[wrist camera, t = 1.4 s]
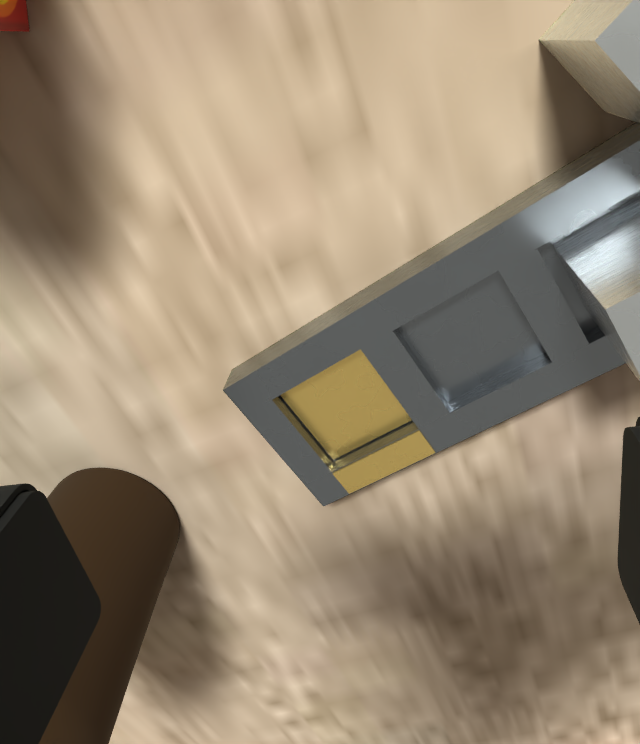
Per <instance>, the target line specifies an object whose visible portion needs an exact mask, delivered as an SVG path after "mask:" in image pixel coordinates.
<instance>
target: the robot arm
mask: <svg viewBox="0 0 640 744" xmlns="http://www.w3.org/2000/svg"><path fill="white" fill-rule="evenodd" d="M618 569H619V574H620V578H621V582H622V585H623V587H624V590H625V592H626V594H627V596H628V599H629V601H630V603H631V605H632V608H633V610H634V612H635V614H636V617H637V619H638V621H639V623H640V417H638V419H637V422H636V426H635V427H627V428H625V430H624V435H623V454H622V476H621V498H620V520H619V543H618ZM100 613H101V602H100V599H99V596H98V594H97V592H96V591H95V589H94V587H93V585H92V583H91V581H90V579H89V577H88V575H87V574H86V572H85V570H84V568H83V566H82V564H81V562H80V560H79V558H78V557H77V555H76V553H75V551H74V549H73V547H72V545H71V543H70V541H69V540H68V538H67V536H66V534H65V532H64V530H63V528H62V526H61V524H60V523H59V521H58V519H57V517H56V515H55V513H54V511H53V509H52V507H51V506H50V504H49V502H48V500H47V498H46V496H45V495H44V494H43V493H42V492H40V491H37V490H36V488H35V487H33V486H32V485H30V484H16V485H7V486H0V744H39V742H40V740H41V738H42V736H43V734H44V732H45V730H46V728H47V726H48V724H49V721H50V719H51V717H52V715H53V713H54V711H55V709H56V707H57V705H58V703H59V701H60V699H61V697H62V695H63V693H64V691H65V689H66V687H67V684H68V682H69V680H70V678H71V676H72V674H73V672H74V670H75V668H76V666H77V664H78V662H79V660H80V658H81V656H82V654H83V652H84V650H85V647H86V645H87V643H88V641H89V639H90V637H91V635H92V633H93V631H94V629H95V627H96V625H97V623H98V620H99V618H100Z"/></svg>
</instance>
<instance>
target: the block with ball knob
mask: <svg viewBox="0 0 640 744" xmlns="http://www.w3.org/2000/svg"><path fill="white" fill-rule="evenodd" d="M539 41H540V42H541V43H542V44H543V45H544V46H545V47H546V48H547V49H548V50H549V51H550V53H551V54H552V55H553V56H554V57H555V58H556V59H557V60H558V61H559V62H560V64H561V65H562V66H563V67H564V68H565V69H566V70H567V71H568V72H569V73H570V74H571V76H572V77H573V78H574V79H575V80H576V81H577V82H578V83H579V84H580V85H581V86H582V88H583V89H584V90H585V91H586V92H587V93H588V94H589V95H590V96H591V97H592V99H593V100H594V101H595V102H596V103H597V104H598V105H599V106H600V107H601V108H602V109H603V111H604V112H607V113H610V114H613V115H616V116H619V117H622V118H625V119H628V120H631V121H634V122H637V123H640V0H574V1H573V2H572V3H571V5H570V6H569V7H568V8H567V9H566V10H565V11H564V12H563V13H562V14H561V16H560V17H559V18H558V19H557V20H556V21H555V22H554V23H553V24H552V26H551V27H550V28H549V29H548V30H547V31H546V32H545V33H544V34H543V35H542V37H541V38H540V39H539Z"/></svg>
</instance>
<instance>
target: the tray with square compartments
mask: <svg viewBox="0 0 640 744" xmlns="http://www.w3.org/2000/svg"><path fill="white" fill-rule="evenodd" d="M638 196H640V123H635V124H633V125H632V126H630V127H629V128H627V129H625V130H624V131H622V132H620V133H619V134H617V135H615V136H614V137H612V138H611V139H609V140H607V141H606V142H604V143H602V144H601V145H599V146H597V147H596V148H594V149H593V150H591V151H589V152H588V153H586V154H584V155H583V156H581V157H579V158H578V159H576V160H575V161H573V162H571V163H570V164H568V165H566V166H565V167H563V168H561V169H560V170H558V171H557V172H555V173H553V174H552V175H550V176H548V177H547V178H545V179H543V180H542V181H540V182H539V183H537V184H535V185H534V186H532V187H530V188H529V189H527V190H525V191H524V192H522V193H521V194H519V195H517V196H516V197H514V198H512V199H511V200H509V201H507V202H506V203H504V204H503V205H501V206H499V207H498V208H496V209H494V210H493V211H491V212H489V213H488V214H486V215H485V216H483V217H481V218H480V219H478V220H476V221H475V222H473V223H471V224H470V225H468V226H467V227H465V228H463V229H462V230H460V231H458V232H457V233H455V234H453V235H452V236H450V237H449V238H447V239H445V240H444V241H442V242H440V243H439V244H437V245H435V246H434V247H432V248H431V249H429V250H427V251H426V252H424V253H422V254H421V255H419V256H417V257H416V258H414V259H413V260H411V261H409V262H408V263H406V264H404V265H403V266H401V267H399V268H398V269H396V270H395V271H393V272H391V273H390V274H388V275H386V276H385V277H383V278H381V279H380V280H378V281H377V282H375V283H373V284H372V285H370V286H368V287H367V288H365V289H363V290H362V291H360V292H359V293H357V294H355V295H354V296H352V297H350V298H349V299H347V300H345V301H344V302H342V303H341V304H339V305H337V306H336V307H334V308H332V309H331V310H329V311H327V312H326V313H324V314H323V315H321V316H319V317H318V318H316V319H314V320H313V321H311V322H309V323H308V324H306V325H305V326H303V327H301V328H300V329H298V330H296V331H295V332H293V333H291V334H290V335H288V336H287V337H285V338H283V339H282V340H280V341H278V342H277V343H275V344H273V345H272V346H270V347H269V348H267V349H265V350H264V351H262V352H260V353H259V354H257V355H255V356H254V357H252V358H251V359H249V360H247V361H246V362H244V363H242V364H241V365H239V366H237V367H236V368H234V369H233V370H232V371H231V373H230V376H229V378H228V380H227V382H226V384H225V387H224V389H223V391H224V392H225V393H226V394H227V396H228V397H229V398H230V399H231V400H232V401H233V402H234V404H235V405H236V406H237V407H238V408H239V409H240V411H241V412H242V413H243V414H244V415H245V416H246V417H247V419H248V420H249V421H250V422H251V423H252V424H253V426H254V427H255V428H256V429H257V430H258V431H259V433H260V434H261V435H262V436H263V437H264V438H265V439H266V441H267V442H268V443H269V444H270V445H271V446H272V448H273V449H274V450H275V451H276V452H277V453H278V454H279V456H280V457H281V458H282V459H283V460H284V461H285V463H286V464H287V465H288V466H289V467H290V468H291V469H292V471H293V472H294V473H295V474H296V475H297V476H298V478H299V479H300V480H301V481H302V482H303V483H304V485H305V486H306V487H307V488H308V489H309V490H310V491H311V493H312V494H313V495H314V496H315V497H316V498H317V500H318V501H319V502H320V503H321V504H322V505H323V506H326V505H328V504H330V503H332V502H334V501H336V500H338V499H340V498H343V497H345V496H347V495H349V494H351V493H353V492H355V491H357V490H359V489H361V488H364V487H366V486H368V485H370V484H372V483H374V482H376V481H378V480H380V479H383V478H385V477H387V476H389V475H391V474H393V473H395V472H397V471H399V470H402V469H404V468H406V467H408V466H410V465H412V464H414V463H416V462H418V461H420V460H423V459H425V458H427V457H429V456H431V455H433V454H435V453H437V452H439V451H442V450H444V449H446V448H448V447H450V446H452V445H454V444H456V443H458V442H460V441H463V440H465V439H467V438H469V437H471V436H473V435H475V434H477V433H479V432H482V431H484V430H486V429H488V428H490V427H492V426H494V425H496V424H498V423H501V422H503V421H505V420H507V419H509V418H511V417H513V416H515V415H517V414H519V413H522V412H524V411H526V410H528V409H530V408H532V407H534V406H536V405H538V404H541V403H543V402H545V401H547V400H549V399H551V398H553V397H555V396H557V395H559V394H562V393H564V392H566V391H568V390H570V389H572V388H574V387H576V386H578V385H581V384H583V383H585V382H587V381H589V380H591V379H593V378H595V377H597V376H600V375H602V374H604V373H606V372H608V371H610V370H612V369H614V368H616V367H618V366H621V365H623V364H625V361H624V360H623V359H622V357H621V356H620V355H619V353H618V352H617V351H616V349H615V348H614V347H613V345H612V344H611V343H610V341H609V340H608V339H607V337H606V336H605V335H604V333H603V332H602V331H601V329H600V328H599V327H598V325H597V324H596V323H595V321H594V320H593V319H592V317H591V316H590V314H589V312H588V310H587V308H586V307H585V305H584V303H583V301H582V299H581V297H580V295H579V293H578V292H577V290H576V288H575V286H574V284H573V282H572V280H571V278H570V277H569V275H568V273H567V271H566V269H565V267H564V265H563V263H562V262H561V260H560V258H559V256H558V254H557V252H556V250H555V248H554V247H553V245H554V244H555V243H557V242H559V241H561V240H563V239H564V238H566V237H568V236H570V235H571V234H573V233H575V232H577V231H578V230H580V229H582V228H584V227H585V226H587V225H589V224H591V223H592V222H594V221H596V220H598V219H600V218H601V217H603V216H605V215H607V214H608V213H610V212H612V211H614V210H615V209H617V208H619V207H621V206H622V205H624V204H626V203H628V202H629V201H631V200H633V199H635V198H637V197H638Z"/></svg>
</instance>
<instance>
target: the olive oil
mask: <svg viewBox="0 0 640 744" xmlns="http://www.w3.org/2000/svg"><path fill="white" fill-rule="evenodd" d="M47 500H48V502H49V504H50V506H51V507H52V509H53V511H54V513H55V515H56V517H57V519H58V521H59V523H60V524H61V526H62V528H63V530H64V532H65V534H66V536H67V538H68V540H69V541H70V543H71V545H72V547H73V549H74V551H75V553H76V555H77V557H78V558H79V560H80V562H81V564H82V566H83V568H84V570H85V572H86V574H87V575H88V577H89V579H90V581H91V583H92V585H93V587H94V589H95V591H96V592H97V594H98V596H99V599H100V602H101V613H100V618H99V620H98V623H97V625H96V627H95V629H94V631H93V633H92V635H91V637H90V639H89V641H88V643H87V645H86V647H85V650H84V652H83V654H82V656H81V658H80V660H79V662H78V664H77V666H76V668H75V670H74V672H73V674H72V676H71V678H70V680H69V682H68V684H67V687H66V689H65V691H64V693H63V695H62V697H61V699H60V701H59V703H58V705H57V707H56V709H55V711H54V713H53V715H52V717H51V719H50V721H49V724H48V726H47V728H46V730H45V732H44V734H43V736H42V738H41V740H40V742H39V744H108V743H109V740H110V737H111V734H112V731H113V728H114V725H115V722H116V719H117V716H118V713H119V710H120V707H121V704H122V701H123V698H124V695H125V692H126V689H127V686H128V683H129V680H130V677H131V674H132V671H133V668H134V665H135V662H136V659H137V656H138V653H139V650H140V647H141V644H142V641H143V638H144V636H145V633H146V630H147V627H148V624H149V621H150V618H151V615H152V612H153V609H154V606H155V603H156V600H157V598H158V595H159V592H160V589H161V587H162V584H163V581H164V578H165V576H166V573H167V570H168V567H169V565H170V562H171V559H172V557H173V554H174V551H175V548H176V545H177V542H178V539H179V533H180V526H179V520H178V517H177V514H176V512H175V510H174V508H173V506H172V505H171V503H170V502H169V500H168V499H167V498H166V497H165V496H164V495H163V494H162V493H161V492H160V491H159V490H158V489H157V488H156V487H154V486H153V485H152V484H150V483H149V482H147V481H145V480H144V479H142V478H140V477H138V476H136V475H133V474H131V473H128V472H125V471H121V470H116V469H110V468H89V469H84V470H80V471H77V472H75V473H73V474H71V475H69V476H67V477H66V478H65V479H63V480H62V481H61V482H60V483H59V484H58V485H57V486H56V488H55V489H54V490H53V491H52V493H51V494H50V495H49V496H48V498H47Z"/></svg>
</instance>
